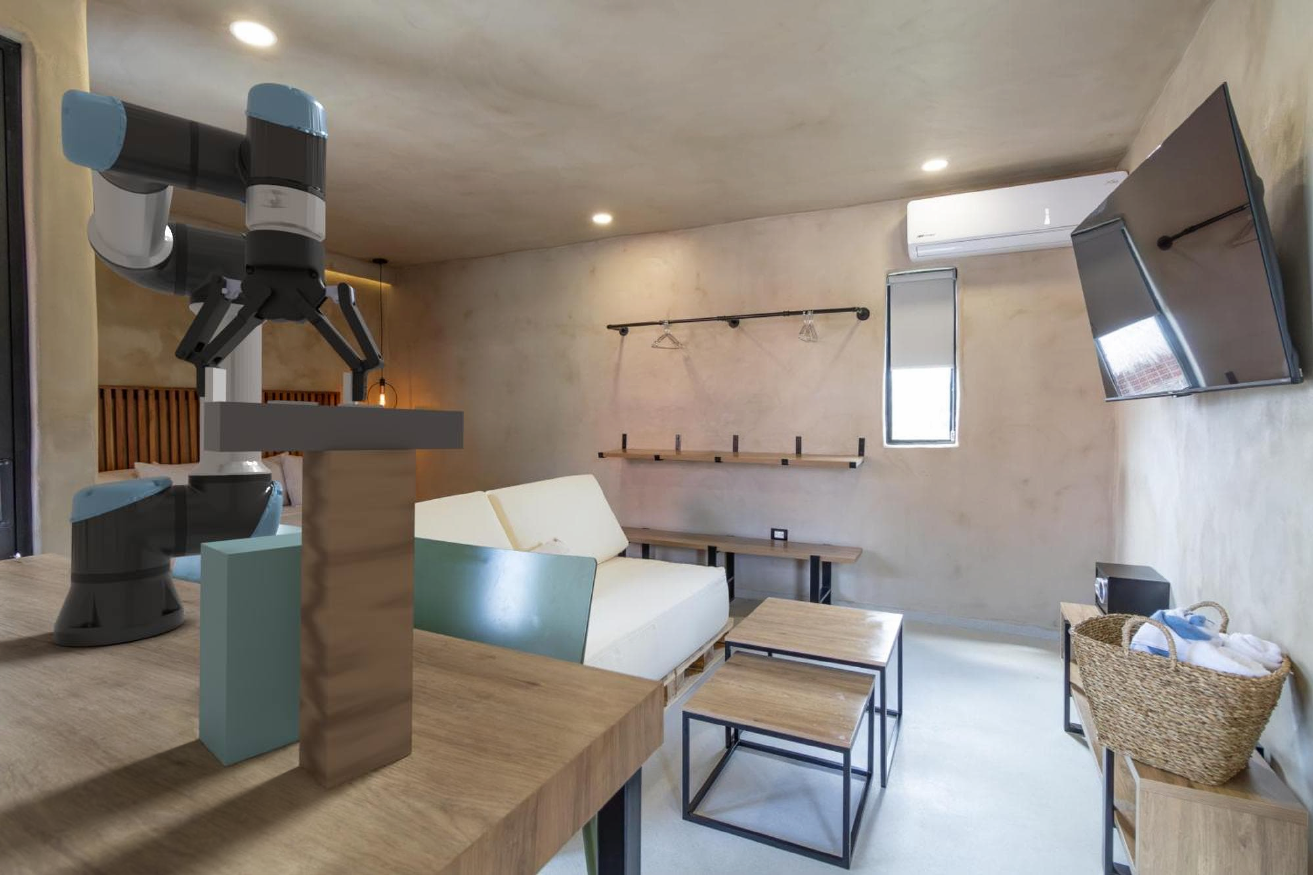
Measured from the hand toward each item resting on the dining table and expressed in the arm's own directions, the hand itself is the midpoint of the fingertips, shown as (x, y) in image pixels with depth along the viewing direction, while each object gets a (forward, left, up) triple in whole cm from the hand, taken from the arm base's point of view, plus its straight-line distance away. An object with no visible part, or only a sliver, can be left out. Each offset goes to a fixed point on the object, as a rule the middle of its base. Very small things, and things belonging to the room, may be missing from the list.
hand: (283, 430), depth 68 cm
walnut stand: (+16, +1, -32) cm, 35 cm away
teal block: (+4, -2, -32) cm, 32 cm away
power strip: (+16, 0, -2) cm, 16 cm away
